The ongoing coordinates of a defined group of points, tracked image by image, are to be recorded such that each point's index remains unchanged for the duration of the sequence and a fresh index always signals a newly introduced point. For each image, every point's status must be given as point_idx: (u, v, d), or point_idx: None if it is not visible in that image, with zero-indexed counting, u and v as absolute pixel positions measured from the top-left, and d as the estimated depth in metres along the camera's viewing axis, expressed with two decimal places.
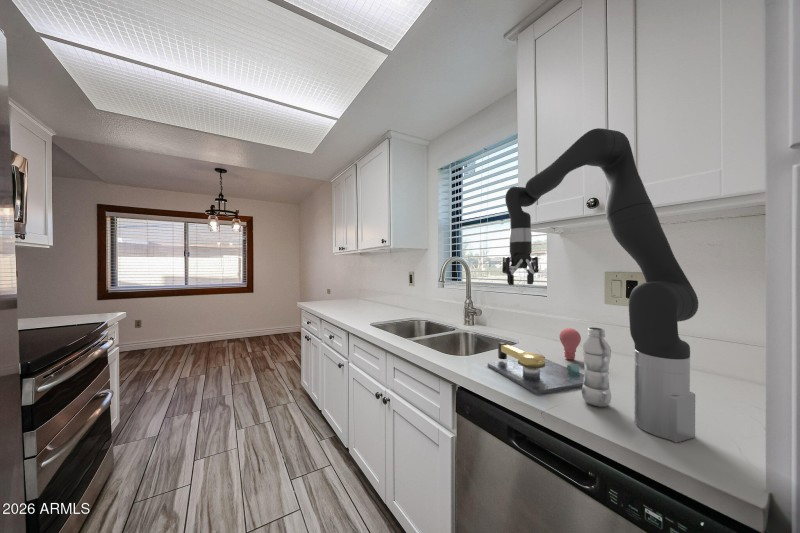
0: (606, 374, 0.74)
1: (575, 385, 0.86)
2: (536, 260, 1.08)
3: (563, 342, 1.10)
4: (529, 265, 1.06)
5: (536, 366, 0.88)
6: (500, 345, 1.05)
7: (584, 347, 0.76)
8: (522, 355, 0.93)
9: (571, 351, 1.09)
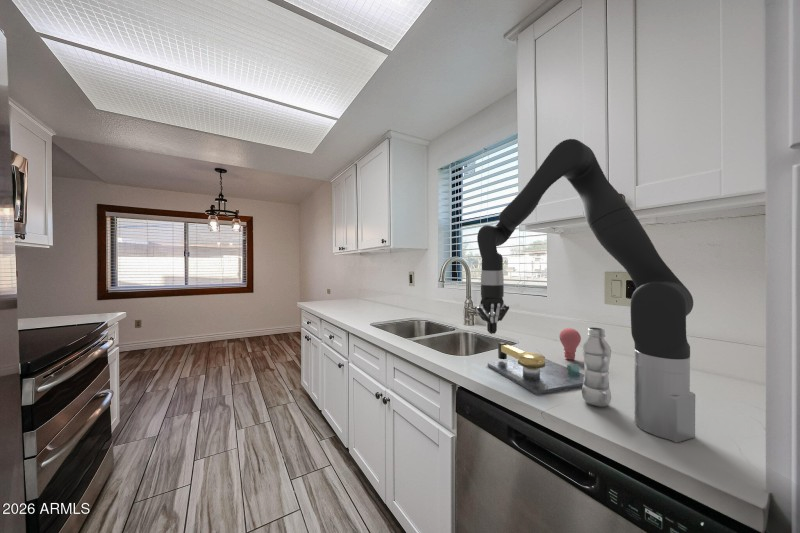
0: (606, 374, 0.74)
1: (575, 385, 0.86)
2: (506, 309, 1.00)
3: (563, 342, 1.10)
4: (497, 311, 0.99)
5: (536, 366, 0.88)
6: (500, 345, 1.05)
7: (584, 347, 0.76)
8: (522, 355, 0.93)
9: (571, 351, 1.09)
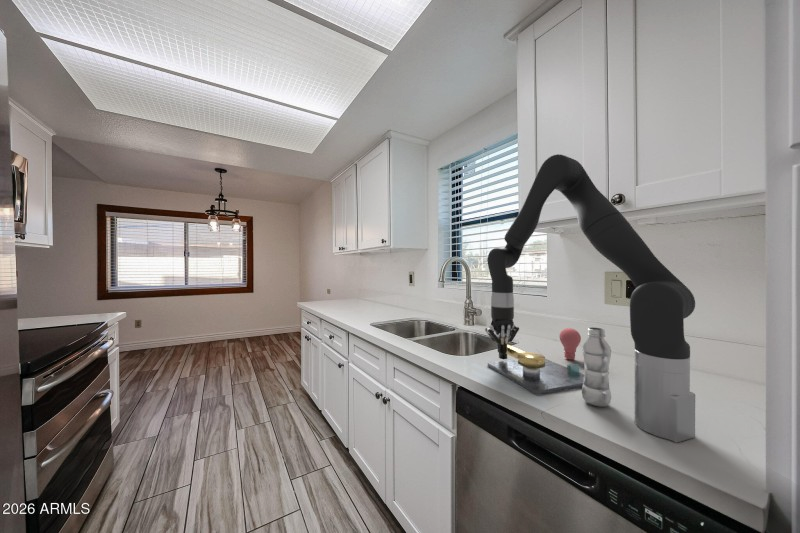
0: (606, 374, 0.74)
1: (575, 385, 0.86)
2: (516, 330, 1.02)
3: (563, 342, 1.10)
4: (507, 332, 1.00)
5: (536, 366, 0.88)
6: None
7: (584, 347, 0.76)
8: (522, 355, 0.93)
9: (571, 351, 1.09)
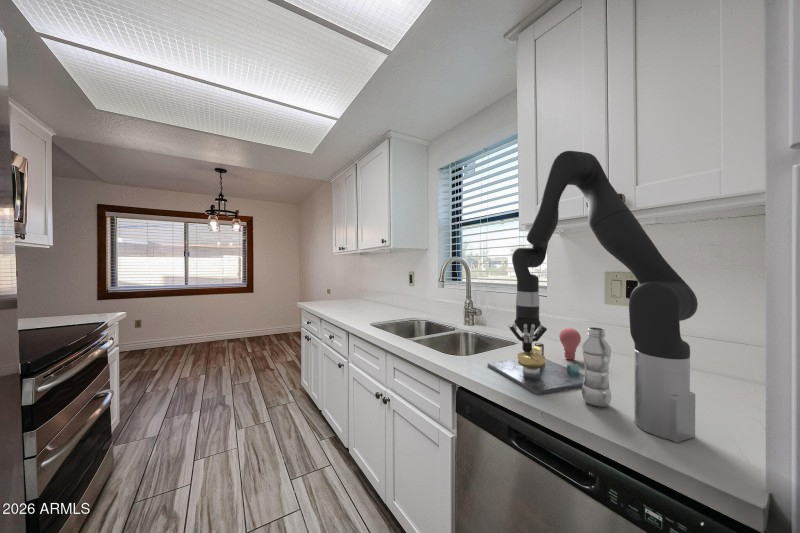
0: (606, 374, 0.74)
1: (575, 385, 0.86)
2: (543, 330, 1.00)
3: (563, 342, 1.10)
4: (531, 331, 1.00)
5: (524, 364, 0.90)
6: None
7: (584, 347, 0.76)
8: (525, 353, 0.94)
9: (571, 351, 1.09)
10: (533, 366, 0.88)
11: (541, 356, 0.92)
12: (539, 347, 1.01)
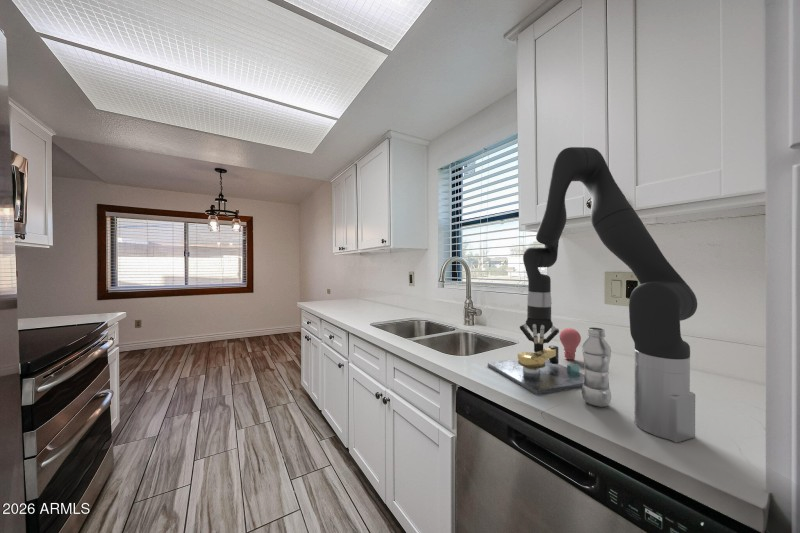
0: (606, 374, 0.74)
1: (575, 385, 0.86)
2: (554, 333, 0.97)
3: (563, 342, 1.10)
4: (541, 332, 0.99)
5: (520, 363, 0.91)
6: None
7: (584, 347, 0.76)
8: (527, 353, 0.95)
9: (571, 351, 1.09)
10: (528, 365, 0.89)
11: (542, 357, 0.91)
12: (550, 349, 0.98)
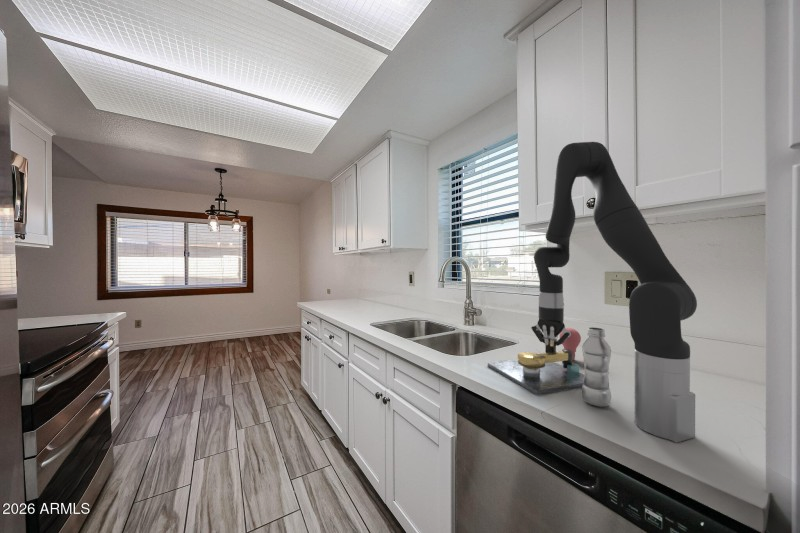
0: (606, 374, 0.74)
1: (575, 385, 0.86)
2: (564, 335, 0.93)
3: (563, 342, 1.10)
4: (551, 334, 0.96)
5: (518, 361, 0.92)
6: None
7: (584, 347, 0.76)
8: (530, 353, 0.95)
9: None
10: (524, 364, 0.90)
11: (541, 358, 0.90)
12: (561, 353, 0.95)
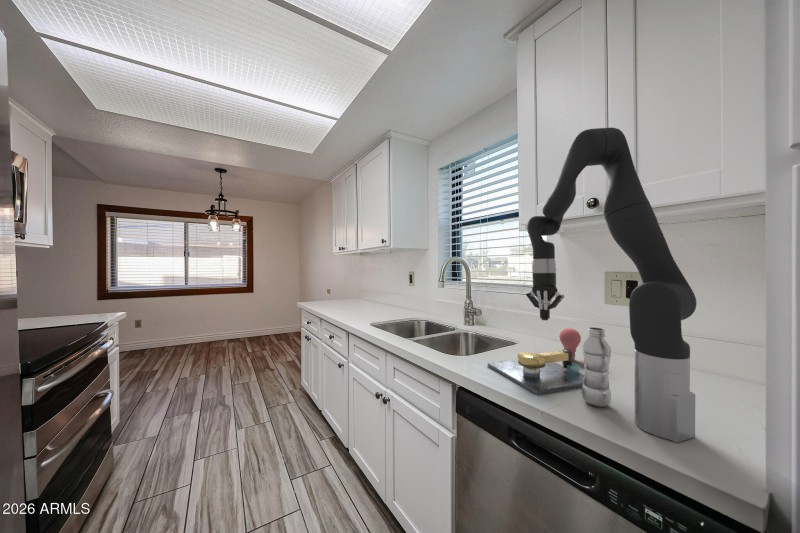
0: (606, 374, 0.74)
1: (575, 385, 0.86)
2: (557, 298, 0.98)
3: (563, 342, 1.10)
4: (545, 298, 1.01)
5: (518, 361, 0.92)
6: None
7: (584, 347, 0.76)
8: (530, 353, 0.95)
9: None
10: (524, 364, 0.90)
11: (541, 358, 0.90)
12: (561, 353, 0.95)
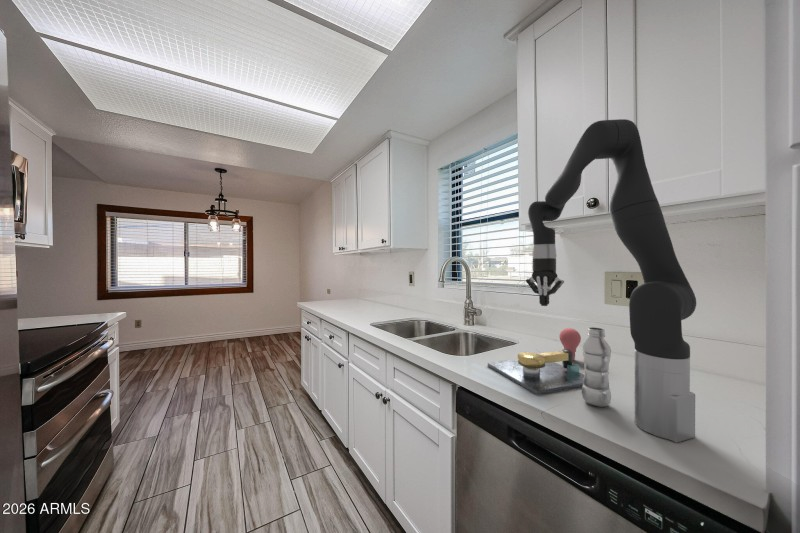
0: (606, 374, 0.74)
1: (575, 385, 0.86)
2: (557, 283, 0.99)
3: (563, 342, 1.10)
4: (545, 284, 1.01)
5: (518, 361, 0.92)
6: None
7: (584, 347, 0.76)
8: (530, 353, 0.95)
9: None
10: (524, 364, 0.90)
11: (541, 358, 0.90)
12: (561, 353, 0.95)
